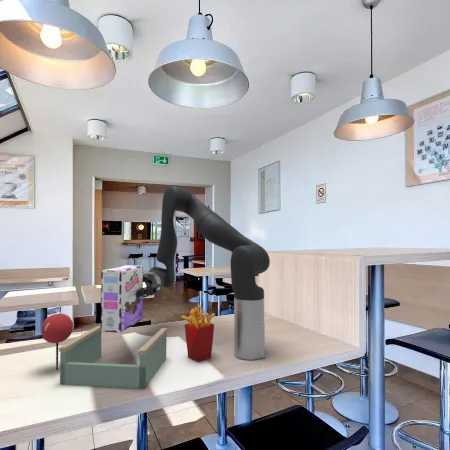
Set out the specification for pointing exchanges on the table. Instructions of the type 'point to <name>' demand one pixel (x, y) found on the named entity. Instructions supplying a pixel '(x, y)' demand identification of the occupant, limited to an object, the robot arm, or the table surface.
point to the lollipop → (56, 330)
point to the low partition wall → (109, 373)
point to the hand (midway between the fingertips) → (126, 293)
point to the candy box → (121, 298)
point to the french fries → (199, 335)
